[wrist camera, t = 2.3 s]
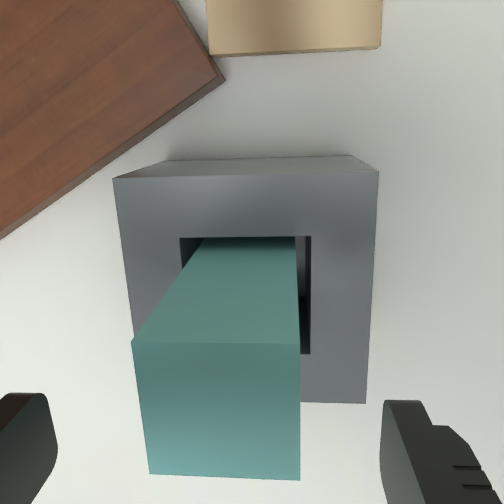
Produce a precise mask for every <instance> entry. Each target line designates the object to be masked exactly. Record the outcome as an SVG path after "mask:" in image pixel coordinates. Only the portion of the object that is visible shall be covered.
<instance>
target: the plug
mask: <svg viewBox="0 0 504 504" xmlns="http://www.w3.org/2000/svg"><path fill="white" fill-rule="evenodd" d="M131 346H132V353H133V360H134V367H135V374H136V381H137V388H138V395H139V402H140V409H141V416H142V423H143V430H144V437H145V444H146V451H147V458H148V465H149V472H150V474H159V475H182V476H205V477H228V478H251V479H274V480H297V481H300V332H299V311H298V289H297V268H296V246H295V236H273V237H205V239H204V240H203V242H202V243H201V244H200V246H199V247H198V249H197V250H196V251H195V253H194V254H193V256H192V257H191V258H190V260H189V261H188V263H187V264H186V265H185V267H184V268H183V270H182V271H181V272H180V274H179V275H178V276H177V278H176V279H175V281H174V282H173V283H172V285H171V286H170V288H169V289H168V290H167V292H166V293H165V295H164V296H163V297H162V299H161V300H160V302H159V303H158V304H157V306H156V307H155V309H154V310H153V311H152V313H151V314H150V316H149V317H148V318H147V320H146V321H145V323H144V324H143V325H142V327H141V328H140V330H139V331H138V332H137V334H136V335H135V337H134V338H133V339H132V341H131Z"/></svg>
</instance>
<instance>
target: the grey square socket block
mask: <svg viewBox="0 0 504 504" xmlns="http://www.w3.org/2000/svg"><path fill="white" fill-rule="evenodd" d="M378 177H379V171H378V170H376V169H374V168H372V167H371V166H369V165H367V164H365V163H364V162H362V161H360V160H359V159H357V158H355V157H353V156H352V155H345V156H312V157H279V158H246V159H213V160H179V161H163V162H160V163H157V164H154V165H151V166H148V167H145V168H142V169H139V170H136V171H133V172H130V173H127V174H124V175H121V176H118V177H115V178H112V180H113V187H114V194H115V202H116V209H117V216H118V223H119V230H120V238H121V245H122V252H123V259H124V266H125V273H126V281H127V288H128V295H129V302H130V309H131V317H132V324H133V331H134V337H135V335H136V334H137V332H138V331H139V330H140V328H141V327H142V325H143V324H144V323H145V321H146V320H147V318H148V317H149V316H150V314H151V313H152V311H153V310H154V309H155V307H156V306H157V304H158V303H159V302H160V300H161V299H162V297H163V296H164V295H165V293H166V292H167V290H168V289H169V288H170V286H171V285H172V283H173V282H174V281H175V279H176V278H177V276H178V275H179V274H180V272H181V271H182V270H183V268H184V267H185V265H186V264H187V263H188V261H189V260H190V258H191V257H192V256H193V254H194V253H195V251H196V250H197V249H198V247H199V246H200V244H201V243H202V242H203V240H204V239H205V237H273V236H295V246H296V268H297V289H298V311H299V332H300V402H321V403H360V404H366V391H367V373H368V355H369V337H370V319H371V301H372V284H373V266H374V248H375V230H376V212H377V194H378Z"/></svg>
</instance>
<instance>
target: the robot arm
mask: <svg viewBox="0 0 504 504" xmlns="http://www.w3.org/2000/svg"><path fill="white" fill-rule="evenodd" d="M57 453H58V445H57V439H56V435H55V431H54V426H53V422H52V418H51V413H50V409H49V404H48V401H47V398H46V396H45V395H44V394H42V393H8V394H6V395H5V396H4V397H3V398H2V399H1V400H0V504H31V503H32V501H33V500H34V498H35V497H36V495H37V494H38V492H39V491H40V489H41V487H42V486H43V484H44V483H45V481H46V480H47V478H48V477H49V475H50V474H51V472H52V470H53V468H54V465H55V462H56V459H57ZM380 472H381V479H382V484H383V488H384V492H385V495H386V499H387V503H388V504H502V503H501V501H500V499H499V497H498V496H497V494H496V492H495V490H492V485H491V483H490V481H489V480H488V478H487V476H486V474H485V472H484V471H482V470H481V465H480V464H479V462H478V460H477V458H476V456H475V455H474V453H473V451H472V449H471V448H470V446H469V444H468V443H467V442H466V441H465V440H463V439H462V438H461V437H460V436H459V435H458V434H457V433H456V432H455V431H454V430H452V429H451V428H450V427H449V426H438V425H432V422H431V420H430V418H429V416H428V414H427V412H426V410H425V408H424V406H423V404H422V403H421V401H419V400H385V401H384V404H383V414H382V428H381V441H380Z"/></svg>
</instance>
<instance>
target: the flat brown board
mask: <svg viewBox="0 0 504 504" xmlns="http://www.w3.org/2000/svg"><path fill="white" fill-rule="evenodd" d="M224 82H225V79H224V77H223V75H222V74H221V72H220V70H219V69H218V67H217V65H216V64H215V62H214V60H213V59H212V57H211V56H210V55H209V52H208V50H207V49H206V47H205V45H204V44H203V42H202V40H201V39H200V37H199V35H198V34H197V32H196V30H195V29H194V27H193V26H192V24H191V22H190V21H189V19H188V17H187V16H186V14H185V12H184V11H183V9H182V7H181V6H180V4H179V2H178V1H177V0H0V240H1V239H3V238H4V237H6V236H7V235H8V234H10V233H11V232H13V231H14V230H15V229H17V228H18V227H20V226H21V225H22V224H24V223H25V222H27V221H28V220H30V219H31V218H32V217H34V216H35V215H37V214H38V213H39V212H41V211H42V210H44V209H45V208H47V207H48V206H49V205H51V204H52V203H54V202H55V201H56V200H58V199H59V198H61V197H62V196H64V195H65V194H66V193H68V192H69V191H71V190H72V189H73V188H75V187H76V186H78V185H79V184H81V183H82V182H83V181H85V180H86V179H88V178H89V177H90V176H92V175H93V174H95V173H96V172H98V171H99V170H100V169H102V168H103V167H105V166H106V165H107V164H109V163H110V162H112V161H113V160H115V159H116V158H117V157H119V156H120V155H122V154H123V153H124V152H126V151H127V150H129V149H130V148H132V147H133V146H134V145H136V144H137V143H139V142H140V141H141V140H143V139H144V138H146V137H147V136H148V135H150V134H151V133H153V132H154V131H156V130H157V129H158V128H160V127H161V126H163V125H164V124H165V123H167V122H168V121H170V120H171V119H173V118H174V117H175V116H177V115H178V114H180V113H181V112H182V111H184V110H185V109H187V108H188V107H190V106H191V105H192V104H194V103H195V102H197V101H198V100H199V99H201V98H202V97H204V96H205V95H207V94H208V93H209V92H211V91H212V90H214V89H215V88H216V87H218V86H219V85H221V84H222V83H224Z"/></svg>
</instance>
